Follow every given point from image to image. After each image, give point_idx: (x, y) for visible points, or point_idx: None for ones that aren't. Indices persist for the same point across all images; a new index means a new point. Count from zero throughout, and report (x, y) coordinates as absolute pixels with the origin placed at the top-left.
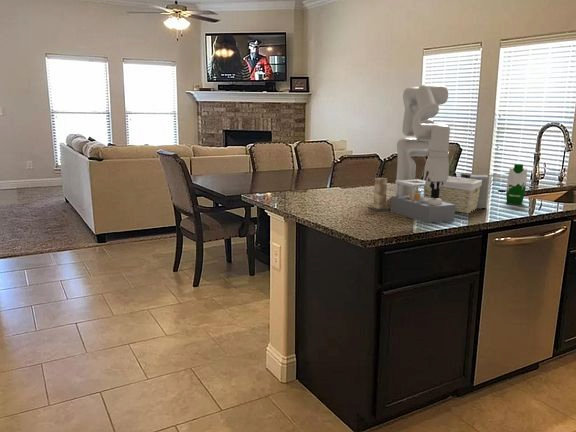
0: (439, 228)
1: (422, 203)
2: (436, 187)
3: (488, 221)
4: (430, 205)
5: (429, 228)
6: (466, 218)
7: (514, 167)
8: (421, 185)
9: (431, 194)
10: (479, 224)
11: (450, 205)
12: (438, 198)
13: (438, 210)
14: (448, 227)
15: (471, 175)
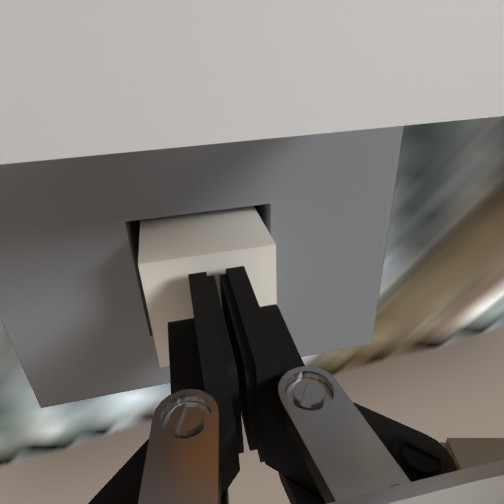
0: (81, 414)
1: (49, 240)
2: (221, 498)
3: (484, 310)
4: (94, 351)
5: (9, 411)
6: (450, 220)
7: None
8: (30, 151)
9: (169, 336)
10: (379, 359)
11: (314, 350)
12: (275, 299)
13: None
14: (155, 399)
15: None
